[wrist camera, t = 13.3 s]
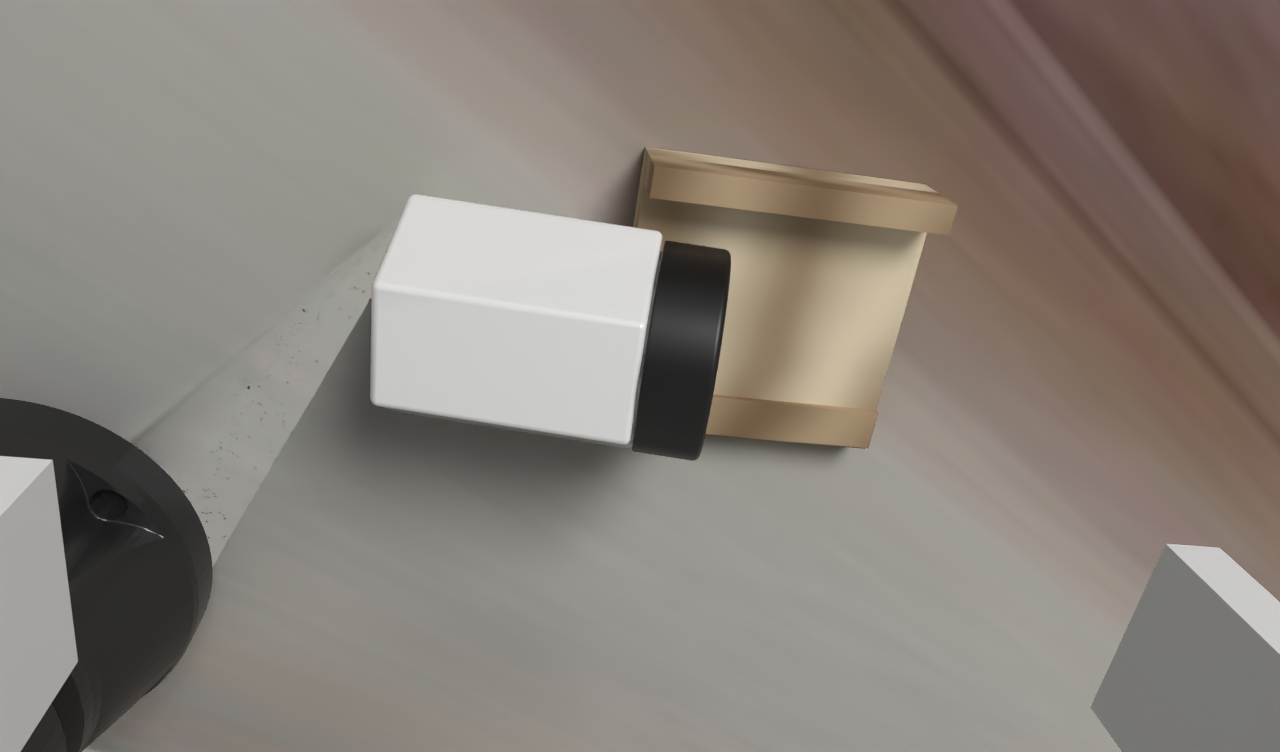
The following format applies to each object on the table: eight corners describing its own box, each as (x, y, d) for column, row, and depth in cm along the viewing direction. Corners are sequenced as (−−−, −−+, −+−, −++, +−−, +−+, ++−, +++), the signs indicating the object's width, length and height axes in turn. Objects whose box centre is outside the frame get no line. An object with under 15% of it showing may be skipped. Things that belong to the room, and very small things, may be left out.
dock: (605, 410, 42) (610, 448, 39) (645, 146, 38) (654, 165, 34) (855, 433, 44) (879, 471, 41) (924, 184, 39) (958, 205, 36)
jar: (430, 371, 41) (698, 413, 41) (365, 460, 34) (692, 512, 33) (439, 170, 37) (733, 215, 37) (368, 220, 30) (735, 276, 30)
